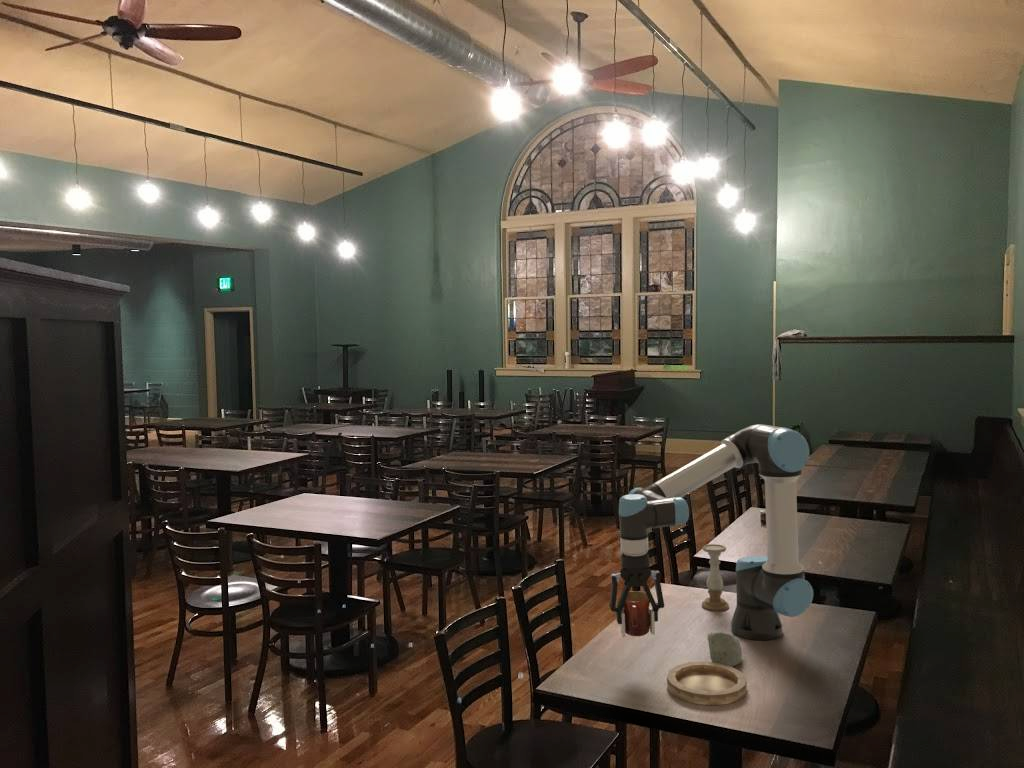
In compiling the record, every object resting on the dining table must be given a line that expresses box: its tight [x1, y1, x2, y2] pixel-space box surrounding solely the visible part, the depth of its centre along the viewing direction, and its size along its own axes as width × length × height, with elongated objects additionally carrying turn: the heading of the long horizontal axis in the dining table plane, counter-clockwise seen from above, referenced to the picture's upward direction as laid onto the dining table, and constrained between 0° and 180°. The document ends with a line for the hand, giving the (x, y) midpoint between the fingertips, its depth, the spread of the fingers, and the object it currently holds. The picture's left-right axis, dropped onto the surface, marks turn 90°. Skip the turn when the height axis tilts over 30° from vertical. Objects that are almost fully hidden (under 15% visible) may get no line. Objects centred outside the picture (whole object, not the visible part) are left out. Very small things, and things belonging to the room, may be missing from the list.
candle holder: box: [701, 543, 730, 612], centre depth 279 cm, size 9×9×20 cm
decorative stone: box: [706, 631, 743, 668], centre depth 236 cm, size 13×11×10 cm
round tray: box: [666, 661, 748, 707], centre depth 220 cm, size 20×20×3 cm
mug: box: [618, 590, 651, 637], centre depth 229 cm, size 12×9×10 cm
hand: (637, 633), depth 229 cm, fingers closed on mug, 7 cm apart
